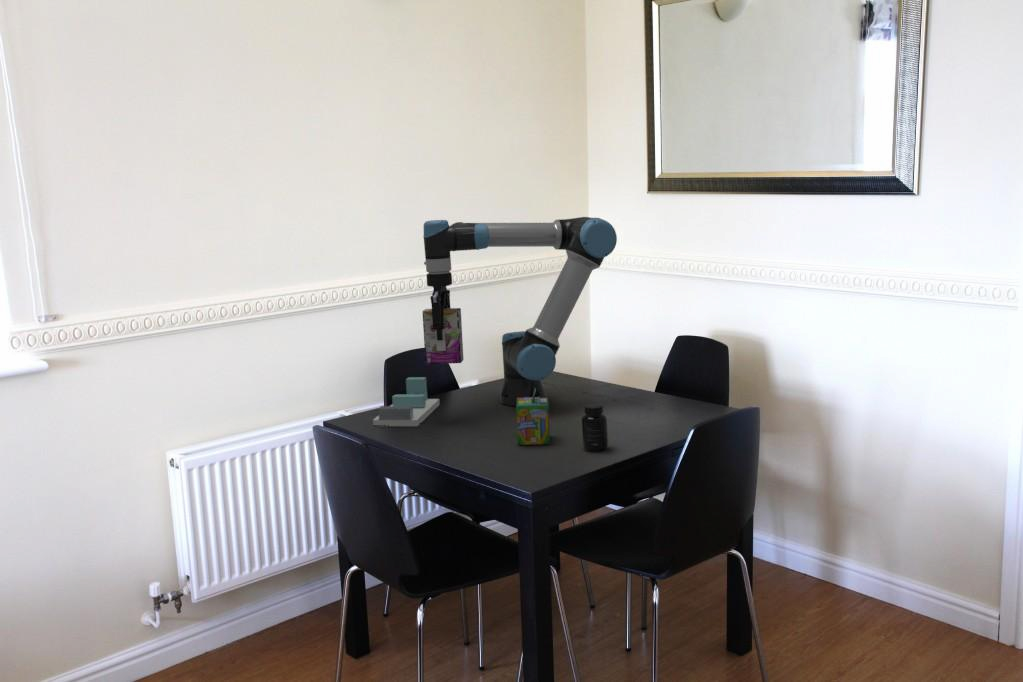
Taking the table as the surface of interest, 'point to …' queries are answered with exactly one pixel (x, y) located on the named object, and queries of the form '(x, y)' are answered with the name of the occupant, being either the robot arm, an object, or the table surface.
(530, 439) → the chalk box
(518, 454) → the table surface
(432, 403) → the base
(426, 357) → the candy bar box
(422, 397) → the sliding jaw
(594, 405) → the supplement bottle
